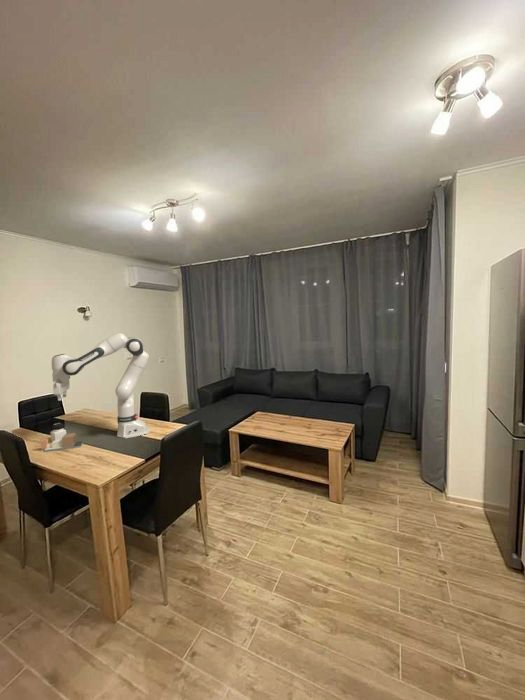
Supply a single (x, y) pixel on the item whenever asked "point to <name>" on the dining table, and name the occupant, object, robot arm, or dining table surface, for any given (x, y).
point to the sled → (54, 444)
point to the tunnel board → (67, 443)
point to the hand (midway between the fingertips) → (62, 398)
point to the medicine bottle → (57, 432)
